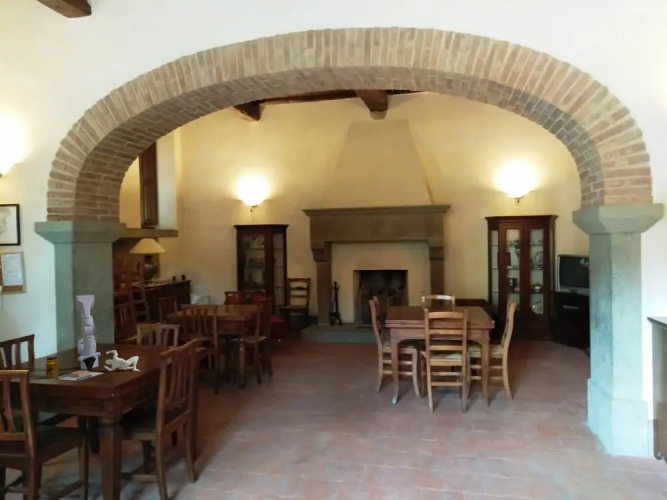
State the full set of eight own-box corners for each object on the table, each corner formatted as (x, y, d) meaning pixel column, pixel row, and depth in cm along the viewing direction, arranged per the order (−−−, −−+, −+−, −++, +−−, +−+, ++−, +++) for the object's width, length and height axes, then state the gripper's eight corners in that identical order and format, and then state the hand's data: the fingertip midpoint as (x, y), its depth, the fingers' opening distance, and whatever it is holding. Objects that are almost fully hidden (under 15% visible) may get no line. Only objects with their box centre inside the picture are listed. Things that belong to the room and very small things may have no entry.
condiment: (43, 380, 287) (42, 358, 287) (49, 377, 295) (48, 355, 295) (57, 379, 288) (57, 357, 288) (63, 376, 296) (62, 354, 296)
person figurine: (138, 349, 312) (106, 348, 302) (143, 357, 302) (110, 356, 292) (134, 370, 313) (101, 369, 303) (138, 379, 303) (105, 378, 293)
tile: (80, 370, 297) (70, 373, 290) (88, 370, 295) (78, 373, 288) (80, 373, 297) (70, 376, 290) (88, 374, 295) (78, 377, 288)
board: (82, 372, 303) (82, 369, 303) (104, 374, 298) (104, 371, 298) (56, 380, 286) (55, 377, 286) (78, 382, 281) (78, 378, 281)
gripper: (84, 349, 291) (85, 374, 291) (104, 344, 305) (104, 368, 305) (74, 349, 294) (75, 373, 294) (94, 344, 307) (95, 367, 307)
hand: (89, 370), depth 299 cm, fingers closed
